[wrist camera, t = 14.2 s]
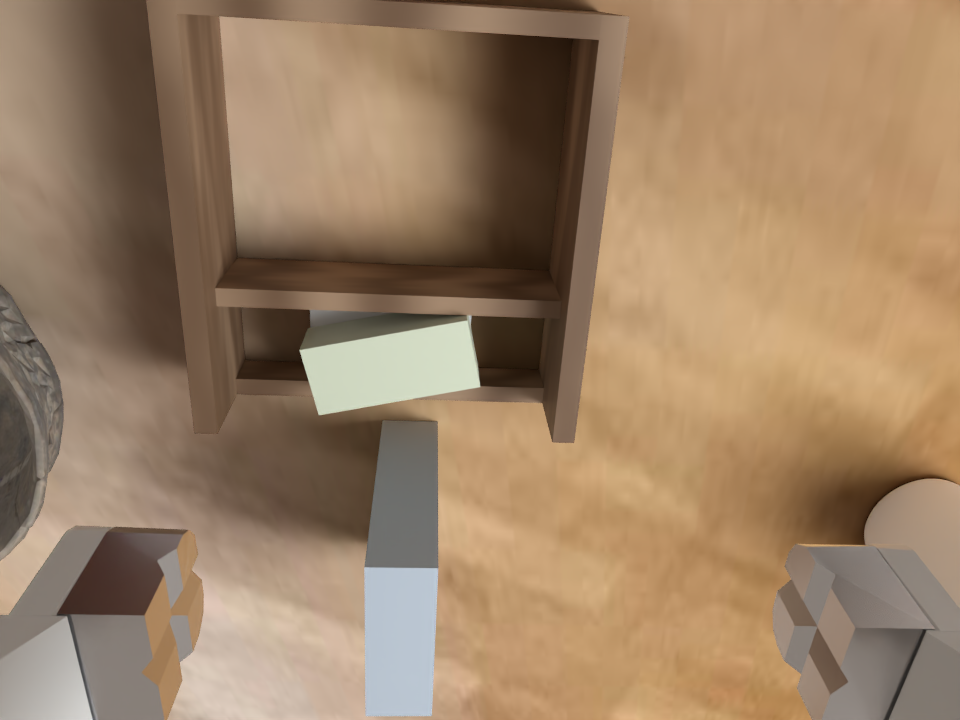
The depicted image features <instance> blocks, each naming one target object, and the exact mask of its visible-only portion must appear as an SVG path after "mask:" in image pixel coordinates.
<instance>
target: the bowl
mask: <svg viewBox="0 0 960 720" xmlns="http://www.w3.org/2000/svg"><path fill="white" fill-rule="evenodd" d="M62 428H63V399H62V391H61V386H60V380H59V377H58V375H57V373H56V370H55V367H54V365H53V363H52V361H51V359H50V357H49V354H48V353H47V351H46V350H45V348H44V347H43V345H42V344H41V343H40V342H39V340H38V339H37V337H36V336H35V334H34V333H33V331H32V330H31V328H30V326H29V325H28V323H27V322H26V320H25V318H24V317H23V315H22V313H21V311H20V310H19V309H18V307H17V306H16V304H15V302H14V300H13V298H12V296H11V295H10V294H9V293H8V292H7V291H6V290H5V289H4V288H3V287H2V286H1V285H0V561H1V560H2V559H3V558H4V557H6V556H7V555H8V554H9V553H10V552H11V551H12V550H13V548H15V547H16V546H17V545H18V544H19V543H20V542H21V541H22V540H23V539H24V538H25V536H26V534H27V532H28V530H29V528H30V527H32V526H33V524H34V522H35V521H36V519H37V517H38V516H39V513H40V511H41V508H42V505H43V503H44V497H45V490H46V484H47V475H48V473H49V472H50V471H51V469H52V467H53V464H54V462H55V460H56V458H57V456H58V454H59V449H60V442H61V435H62Z"/></svg>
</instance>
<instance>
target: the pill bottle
mask: <svg viewBox="0 0 960 720" xmlns="http://www.w3.org/2000/svg"><path fill="white" fill-rule="evenodd" d="M864 540H865V545H867V544H904V545H906V546H908V547H910V548H911V549H913V550H914V551H915V552H916V554H917V555H918V556H919V558H920V559H921V560H922V561H923V563H924V564H925V565H926V566H927V568H928V569H929V570H930V571H931V573H932V574H933V575H934V577H935V578H936V579H937V580H938V582H939V583H940V584H941V585H942V587H943V588H944V589H945V591H946V592H947V593H948V594H949V596H950V597H951V598H952V599H953V601H954V602H955V603H956V604H957V606H958V607H959V608H960V486H959V485H957V484H955V483H953V482H950V481H947V480H942V479H921V480H916V481H913V482H910V483H907V484H904V485H902V486H900V487H898V488H896V489H895V490H893V491H891V492H890V493H889V494H887V495H886V496H885V497H884V498H882V499H881V500H880V501H879V502H878V503H877V505H876V506H875V507H874V508H873V510H872V511H871V513H870V515H869V517H868V519H867V522H866V525H865V530H864Z"/></svg>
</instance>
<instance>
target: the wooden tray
mask: <svg viewBox="0 0 960 720" xmlns="http://www.w3.org/2000/svg"><path fill="white" fill-rule="evenodd" d="M146 5H147V14H148V22H149V31H150V40H151V49H152V58H153V67H154V76H155V85H156V94H157V103H158V112H159V121H160V130H161V139H162V148H163V157H164V166H165V175H166V184H167V193H168V202H169V210H170V219H171V228H172V237H173V246H174V255H175V264H176V273H177V282H178V291H179V300H180V309H181V318H182V327H183V336H184V345H185V354H186V363H187V372H188V381H189V390H190V399H191V407H192V416H193V425H194V433H201V434H218V432H219V430H220V428H221V426H222V424H223V422H224V420H225V417H226V415H227V413H228V411H229V409H230V407H231V405H232V403H233V401H234V399H235V397H236V395H237V394H247V395H282V396H313V394H312V391H311V387H310V384H309V381H308V377H307V374H306V371H305V367H304V364H303V362H282V361H251V360H245V351H244V338H243V325H242V312H241V307H249V308H276V309H304V310H331V311H358V312H386V313H413V314H440V315H468V316H495V317H522V318H544V327H543V336H542V346H541V356H540V366H539V370H533V369H502V368H478V370H479V380H480V387H478V388H472V389H466V390H461V391H455V392H449V393H444V394H438V395H432V396H426V397H421V398H415V399H420V400H455V401H490V402H524V403H543V407H544V411H545V415H546V419H547V423H548V427H549V431H550V435H551V439H552V442H556V443H574V440H575V432H576V424H577V417H578V409H579V401H580V393H581V386H582V378H583V370H584V363H585V355H586V347H587V340H588V332H589V324H590V316H591V309H592V301H593V293H594V286H595V278H596V270H597V262H598V255H599V247H600V239H601V232H602V224H603V216H604V209H605V201H606V193H607V185H608V178H609V170H610V162H611V155H612V147H613V139H614V131H615V124H616V116H617V108H618V101H619V93H620V85H621V77H622V70H623V62H624V54H625V47H626V39H627V31H628V24H629V16H622V15H616V14H609V13H603V12H593V11H578V10H563V9H547V8H532V7H516V6H501V5H486V4H470V3H455V2H439V1H424V0H146ZM219 16H224V17H240V18H256V19H273V20H289V21H305V22H321V23H337V24H353V25H369V26H385V27H401V28H417V29H433V30H449V31H465V32H481V33H497V34H513V35H529V36H545V37H561V38H573V44H572V54H571V64H570V73H569V83H568V93H567V102H566V112H565V122H564V132H563V141H562V151H561V161H560V171H559V180H558V190H557V200H556V210H555V219H554V229H553V239H552V249H551V258H550V268H549V271H547V270H523V269H499V268H474V267H450V266H425V265H401V264H377V263H352V262H328V261H303V260H279V259H255V258H237V246H236V233H235V220H234V207H233V194H232V180H231V167H230V154H229V141H228V128H227V115H226V101H225V88H224V75H223V62H222V49H221V36H220V22H219Z"/></svg>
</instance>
